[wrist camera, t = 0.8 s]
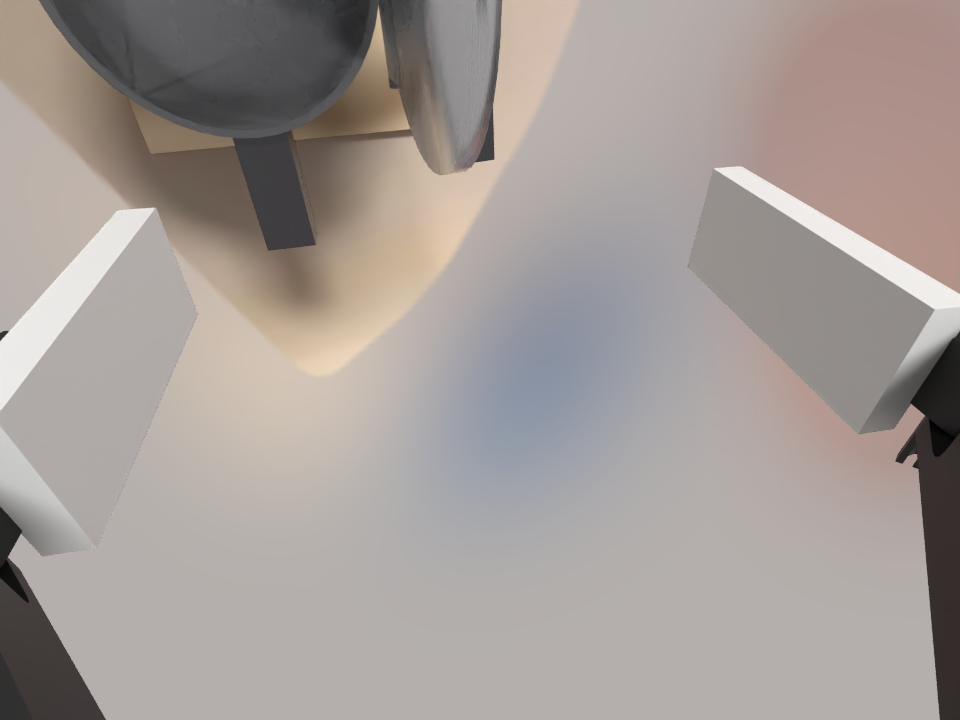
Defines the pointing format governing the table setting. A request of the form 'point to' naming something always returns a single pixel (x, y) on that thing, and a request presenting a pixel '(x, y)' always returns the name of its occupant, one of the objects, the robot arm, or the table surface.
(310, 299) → the table surface
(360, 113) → the trivet
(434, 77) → the lid
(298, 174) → the pot
